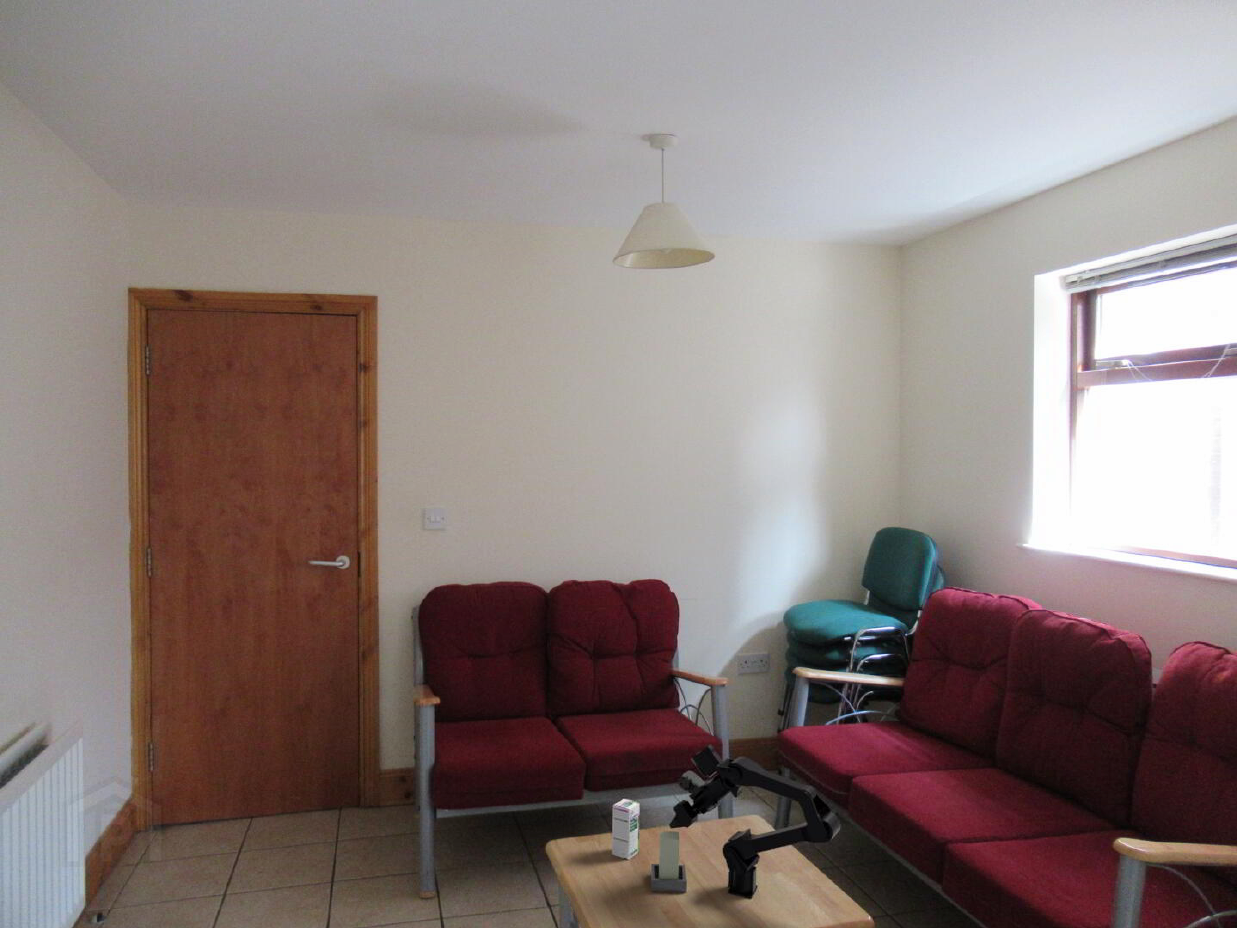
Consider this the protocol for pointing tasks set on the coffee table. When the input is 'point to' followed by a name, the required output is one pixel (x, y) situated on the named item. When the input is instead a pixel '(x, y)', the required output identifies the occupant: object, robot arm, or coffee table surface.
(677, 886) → the square socket
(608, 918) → the coffee table surface
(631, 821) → the syrup box
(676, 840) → the sage block
